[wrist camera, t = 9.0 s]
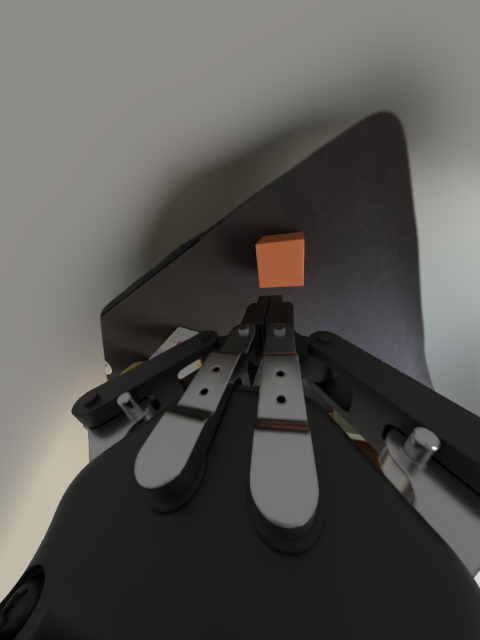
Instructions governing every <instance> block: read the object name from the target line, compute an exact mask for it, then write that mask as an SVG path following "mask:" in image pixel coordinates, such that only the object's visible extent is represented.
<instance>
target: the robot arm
mask: <svg viewBox="0 0 480 640" xmlns="http://www.w3.org/2000/svg"><path fill="white" fill-rule="evenodd" d="M197 360H200V362H201V365H202V366H201V367H200V368H198V369H196V370H195V371H193V372H192V373H190V374H188V375H187V376H185V377H184V378H182V379H178V374H179V372H180V371H181V370H182V369H184V368H185V367H187V366H189V365H190V364H192V363H194V362H195V361H197ZM261 360H262V365H261ZM260 370H261V377H260V386H256V384H257V380H258V377H259V373H260ZM302 378H304V379H307V382H308V384H309V385H310V386H311V387H312V388H313V389H314V390H315V391H316V392H317V393H318V394H319V395H320V396H321V397H322V398H323V399H324V400H325V401H326V402H327V403H328V404H329V405H330V406H331V407H332V408H333V409H334V410H335V411H336V412H337V413H338V414H339V415H340V416H341V417H342V418H343V419H344V420H345V421H346V422H347V423H348V424H349V425H350V426H351V427H352V428H353V429H354V430H356V431H357V432H358V433H359V434H360V435H361V436H362V437H363V438H364V439H365V440H366V441H367V442H368V443H369V444H370V445H371V446H372V447H373V448H374V449H375V450H376V451H377V452H378V453H379V454H378V461H379V465H380V467H381V469H382V471H383V473H384V474H383V473H382V471H381V470H380V469H379V468H378V467H377V466H376V465H375V464H374V463H373V462H372V461H371V459H370V458H369V457H368V456H367V455H366V454H365V453H364V452H363V451H362V450H361V449H360V447H359V446H358V445H357V444H356V443H355V442H354V441H353V440H352V439H351V438H350V437H349V435H348V434H347V433H346V432H345V431H344V430H343V429H342V428H341V427H340V426H339V424H338V423H337V422H336V421H335V420H334V419H333V418H332V417H331V416H330V415H329V414H328V413H327V411H326V410H325V409H323V408H322V407H321V406H320V405H319V404H317V403H316V402H315V401H313V400H311V399H310V398H308V397H306V396H304V392H303V385H302ZM72 414H73V415H74V416H75V417H76V418H77V419H78V420H79V421H80V422H81V423H82V424H83V426H84V427H85V429H86V430H88V437H89V461H90V463H89V464H87V466H85V467H84V469H82V470H81V472H80V473H79V474H78V475H77V477H75V479H74V480H73V481H72V483H71V484H70V485H69V487H68V488H67V490H66V492H65V493H64V495H63V497H62V499H61V501H60V502H59V505H58V507H57V510H56V512H55V514H54V517H53V519H52V522H51V524H50V526H49V528H48V530H47V533H46V535H45V537H44V539H43V541H42V542H41V544H40V546H39V548H38V550H37V552H36V554H35V555H34V557H33V559H32V561H31V562H30V564H29V566H28V567H27V569H26V571H25V572H24V574H23V575H22V576H21V578H20V579H19V581H18V582H17V584H16V585H15V586H14V587H13V589H12V590H11V591H10V593H9V594H8V595H7V596H6V598H4V600H3V601H2V602H1V603H0V640H480V588H479V586H478V584H477V583H476V581H475V580H474V577H475V576H476V574H477V573H478V572H479V571H480V417H478V416H477V415H475V414H473V413H471V412H470V411H468V410H466V409H464V408H463V407H461V406H459V405H458V404H456V403H454V402H452V401H451V400H449V399H447V398H445V397H444V396H442V395H440V394H438V393H437V392H435V391H433V390H432V389H430V388H428V387H426V386H425V385H423V384H421V383H419V382H418V381H416V380H414V379H412V378H411V377H409V376H407V375H405V374H404V373H402V372H400V371H398V370H397V369H395V368H393V367H392V366H390V365H388V364H386V363H385V362H383V361H381V360H379V359H378V358H376V357H374V356H372V355H371V354H369V353H367V352H365V351H364V350H362V349H360V348H358V347H357V346H355V345H353V344H352V343H350V342H348V341H346V340H345V339H343V338H341V337H339V336H338V335H336V334H334V333H331V332H327V331H318V332H314V333H312V334H311V335H310V336H309V337H306V336H302V335H300V334H298V333H297V332H295V330H294V309H293V304H292V303H291V302H283V300H282V295H271V296H259V299H258V302H257V303H252V304H251V305H250V306H248V308H247V310H246V312H245V315H244V317H243V320H242V322H241V324H240V325H237V326H235V327H234V328H233V329H232V331H231V332H230V334H229V335H227V336H222V337H218V335H217V333H216V332H215V331H210V330H209V331H203V332H201V333H199V334H197V335H195V336H193V337H191V338H189V339H187V340H185V341H183V342H182V343H180V344H178V345H176V346H174V347H172V348H170V349H168V350H166V351H164V352H163V353H161V354H159V355H157V356H155V357H153V358H151V359H149V360H147V361H145V362H144V363H142V364H140V365H138V366H136V367H134V368H132V369H130V370H128V371H126V372H125V373H123V374H121V375H119V376H117V377H115V378H113V379H111V380H109V381H107V382H106V383H104V384H102V385H100V386H98V387H96V388H94V389H92V390H90V391H89V392H87V393H86V394H84V395H83V396H82V397H81V398H79V399H78V400H77V402H76V403H75V404H74V406H73V408H72Z"/></svg>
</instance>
